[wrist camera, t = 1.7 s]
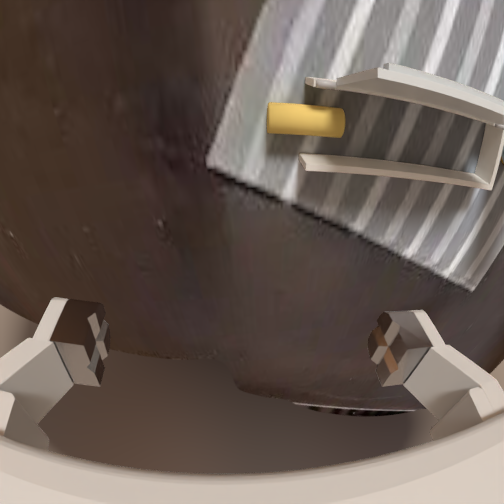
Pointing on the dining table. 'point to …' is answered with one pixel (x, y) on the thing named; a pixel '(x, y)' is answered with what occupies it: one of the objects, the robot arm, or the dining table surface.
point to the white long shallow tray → (481, 179)
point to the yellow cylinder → (305, 120)
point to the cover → (427, 90)
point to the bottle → (502, 156)
